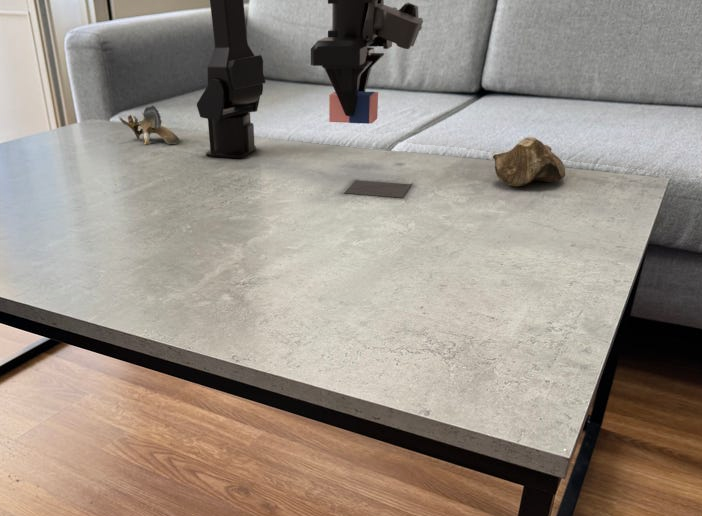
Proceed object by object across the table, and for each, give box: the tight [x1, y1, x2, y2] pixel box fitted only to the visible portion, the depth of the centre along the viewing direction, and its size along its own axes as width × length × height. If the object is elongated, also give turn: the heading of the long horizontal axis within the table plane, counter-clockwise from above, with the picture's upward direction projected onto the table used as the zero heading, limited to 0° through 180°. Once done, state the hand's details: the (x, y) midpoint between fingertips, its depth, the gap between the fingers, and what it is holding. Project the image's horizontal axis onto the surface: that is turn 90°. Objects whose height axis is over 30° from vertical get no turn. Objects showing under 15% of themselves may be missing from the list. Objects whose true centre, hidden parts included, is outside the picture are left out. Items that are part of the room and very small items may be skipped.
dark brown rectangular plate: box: [343, 179, 412, 199], centre depth 96 cm, size 8×6×1 cm
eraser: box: [328, 91, 379, 125], centre depth 95 cm, size 6×3×4 cm, turn 69°
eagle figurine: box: [118, 105, 180, 146], centre depth 123 cm, size 8×7×9 cm
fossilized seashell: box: [492, 136, 566, 187], centre depth 95 cm, size 8×7×10 cm
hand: (353, 113), depth 95 cm, fingers closed on eraser, 3 cm apart
